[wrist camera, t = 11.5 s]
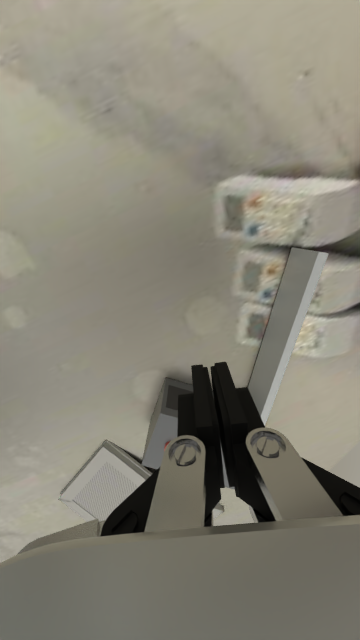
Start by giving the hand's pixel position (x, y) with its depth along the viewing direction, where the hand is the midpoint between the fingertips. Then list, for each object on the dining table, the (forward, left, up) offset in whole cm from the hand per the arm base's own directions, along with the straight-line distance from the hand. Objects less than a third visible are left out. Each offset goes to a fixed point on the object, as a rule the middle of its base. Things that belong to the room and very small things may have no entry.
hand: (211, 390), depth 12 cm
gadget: (+2, -35, -18) cm, 40 cm away
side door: (+9, -1, -17) cm, 19 cm away
